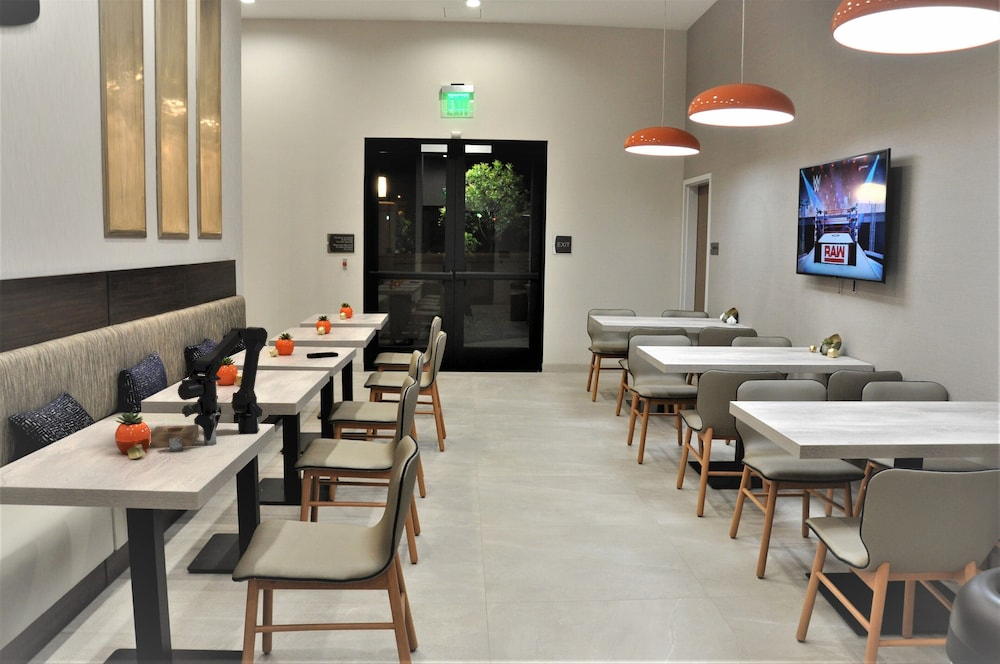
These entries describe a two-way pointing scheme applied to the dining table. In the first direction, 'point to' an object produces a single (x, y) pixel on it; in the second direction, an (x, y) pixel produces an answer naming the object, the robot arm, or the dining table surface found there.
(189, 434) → the hole block
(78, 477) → the dining table surface
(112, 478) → the dining table surface
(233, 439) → the dining table surface
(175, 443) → the short pin
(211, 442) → the tall pin
